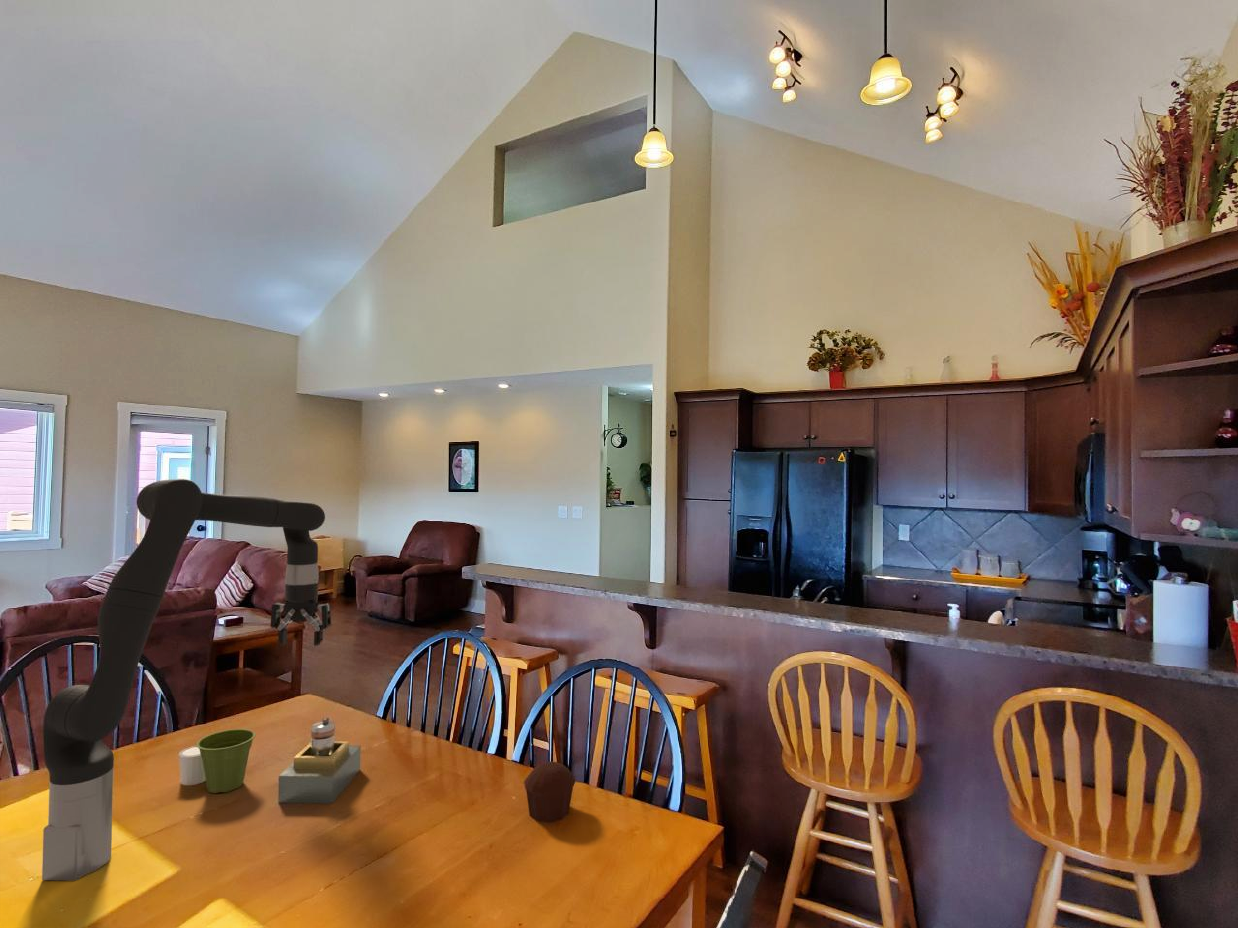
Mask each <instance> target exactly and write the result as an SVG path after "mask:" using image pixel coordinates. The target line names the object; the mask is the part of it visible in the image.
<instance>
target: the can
mask: <svg viewBox="0 0 1238 928" xmlns="http://www.w3.org/2000/svg"><path fill="white" fill-rule="evenodd" d="M335 724H336V723H335V722H333V721H330V717H323V718H322V721H319V722H315V723H313V724H312V725H311V729H310V739H311V740H310V742H311V756H331V755H332V754H333V753H334V741H335V734H336V733H335V732H336V725H335Z"/></svg>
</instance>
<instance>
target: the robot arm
mask: <svg viewBox="0 0 1238 928" xmlns="http://www.w3.org/2000/svg"><path fill="white" fill-rule="evenodd" d="M136 507H137V510H138V512H139V513H140V515H141V516H143V517H144V518H145V519H147V520H149V522H148V524H147V528H146V531H145V533H144V536H143V538H142V539H141V540H140V542H139V544H138V545H137V547H136V548H135V550H134V551H133V552H132V553H131V555H130V556H129V557H128V558H127V559H126V561H125V562H124V563H123V565H121V567H120V568H119V569H118V570H117V572H116V573H115V575H114V576H113V577H112V580H111V582H110V583H109V586H108V588H107V591H106V593H105V596H104V597H103V600H102V603H101V605H100V608H99V610H98V616H97V627H98V628H97V631H98V639H99V640H98V641H99V642H98V643H99V658H98V663H97V667H96V670H95V672H94V674H93V677H92V680H91V682H90V684H89V685H87V684H75V685H71V686H68V687H66V688H64V689H62V690H60V691H58V692H57V693H56V694H55V695H54V696H53V697H52V698H51V700H50V701H49V703H48V705H47V707H46V708H45V712H44V716H43V722H42V723H43V724H42V739H43V740H42V741H43V760H44V761H43V762H44V765H45V767H46V769H47V771H48V773H49V778H48V779H49V785H48V786H49V792H48V795H49V796H48V816H47V817H48V823H47V825H45V827H44V828H43V831H42V833H43V835H42V837H43V838H42V870H41V871H42V872H41V880H42V881H78V880H79V878H82V877H83V876H86V875H88V874H91V873H93V872H96V871H97V870H98V869H100V868H102V867H103V866H105V865H106V864H107V863H108V862H110V860H111V858H112V841H113V840H112V839H113V838H112V835H113V801H114V798H113V795H114V769H115V768H114V767H115V766H114V765H115V764H114V763H115V756H114V752H113V750H111V748H109V747H108V746H107V745H106V744H105V742H103V739H104V738H106V737H108V736H110V735H111V734H112V733H113V732H114V731H115V730H116V729H117V728H118V727H119V725H120V723H121V722H122V719H123V717H124V716H125V712H126V711H127V706H128V704H129V700H130V697H131V692H132V688H133V685H134V682H135V678H136V672H137V669H138V665H139V663H140V660H141V657H142V653H143V651H144V648H145V646H146V642H147V640H148V636H149V634H150V631H151V629H152V625H153V623H154V621H155V619H156V617H157V614H158V612H159V610H160V609H159V608H160V606H161V603H162V601H163V599H164V595H165V592H166V589H167V587H168V584H169V582H170V578H171V577H172V574H173V571H174V568H175V566H176V563H177V559H178V558H179V554H180V552H181V550H182V548H183V545H184V543H185V542H186V541H185V540H186V539H187V537H188V535H189V533H190V531H191V529H192V528H193V525H195V524H194V523H195V521H206V522H207V521H209V522H218V523H220V522H221V523H228V524H235V525H236V524H237V525H244V526H251V527H262V528H263V527H264V528H282V531H283V535H284V540H285V542H286V546H287V550H286V552H287V557H286V558H287V559H286V560H287V561H286V571H285V582H284V583H285V584H284V585H285V587H284V591H285V592H284V600H285V602H284V603H282V602H277V603H273V604H272V606H271V616H270V625H269V626H270V628H272V629H276V630H278V636H277V637H278V638H277V642H278V643H279V644H280V646H284V645H286V644H287V643H288V628H287V627H288V626H289V625H290V624H291V623H292V622H301V623H306V622H308V623H309V625H311V626H312V628H313V629H314V633H313V646H314V647H317V646H319V645H321V643H322V642H323V641H324V640H323V639H324V637H323V636H324V629H325V630H326V629H328V628H330V627H331V626H332V611H331V610H332V609H331V603H329V602H328V603H325V604H319V601H318V599H319V579H320V576H319V572H320V571H319V563H318V561H319V560H318V559H319V546H318V542H317V541H316V540H314V539H312V537H311V536H310V532H311V531H315V530H318V529H319V528H321V526H323V524H324V523H325V520H326V513H325V511H324V509H323V508H322V507H321V506H319V504H315V503H311V502H300V501H298V502H297V501H286V500H282V499H277V498H272V497H271V498H270V497H265V496H257V495H256V496H255V495H242V494H241V495H240V494H221V493H218V494H216V493H208V492H202V491H201V489H200V487H199V485H198V484H196V483H195V482H194V481H192V480H190V479H188V478H187V479H186V478H171V479H163V480H158V481H154V482H152V483H150V484H148V485H146V486H144V487H143V488H142V489H141V490H140V491H139V493H138V495H137V498H136ZM283 610H284V612H285V614H286V615H285V616H284V618H283V619H282V618H281V617H282V612H283ZM318 610H319V613H320V614H321V618H320V616H319V615H318V613H317V612H318ZM281 619H282V620H281Z"/></svg>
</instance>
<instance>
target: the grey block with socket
mask: <svg viewBox="0 0 1238 928" xmlns="http://www.w3.org/2000/svg"><path fill="white" fill-rule="evenodd" d="M361 747H362V746H361V745H352V744H351V745H350V741H343V740H342V741H341V740H339V741H336V740H334V753H333V754H332V755H331V756H311V741H310V742H309V743H308V744H307V745H306V746H305V747H304V748H302V749H301V750H300V751H299V752H298V753H297V754H296V755H295V756H294V757H293V762H292V763H291V764H290V765H289V766H288V767H287V768H286V769H285V770H283V772H281V773H280V774H279V775H278V790H277V791H278V799H277V800H278V802H277V803H280V804H333V803H334V802H335V800H336V799H337V798H338V796H340V795H341V793H342V792H343V791H344V790H345V789H346V787H347V786H348V785H349V784H350V783H351V781H352V780H353V779H354V778H355V777H356V776H357V774H358V773H359V772H360V770H361V755H362V754H361V750H362V749H361Z"/></svg>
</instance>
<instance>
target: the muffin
mask: <svg viewBox="0 0 1238 928" xmlns="http://www.w3.org/2000/svg"><path fill="white" fill-rule="evenodd" d="M523 783H524V788H525V790H526V791H525V792H526V798H527V804H528V805H527V806H528V814H529V817H531V818H533V819H534V820H535V821H536V822H545V823H552V822H557V821H562V820H563V819H564V817H566V816H568V815H569V813H570V808H571V807H570V806H571V801H572V795H573V790H574V786H575V785H576V784H575V783H576V779H575V777H574V775H573V773H572V772H571V771H570V769H569V768H568V767H566V766H565V765H564V764H562V763H560V762H556V761H546V762H543V763H541V764H539V765H537V766H535V767H534V768H533V769H532V770H531V771H530V772H529V774H528V775H527V777H526V778H525V779H524V781H523Z"/></svg>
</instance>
